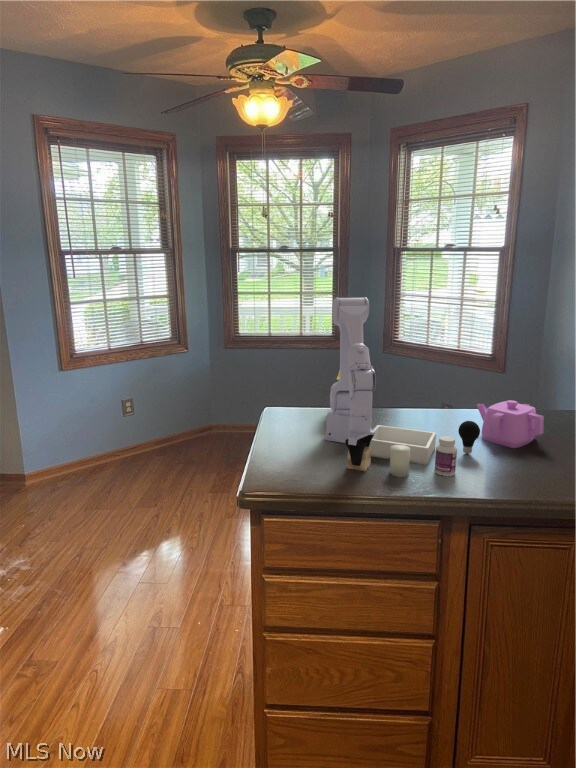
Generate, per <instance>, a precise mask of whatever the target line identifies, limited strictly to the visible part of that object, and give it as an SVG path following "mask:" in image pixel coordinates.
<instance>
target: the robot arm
mask: <svg viewBox="0 0 576 768" xmlns="http://www.w3.org/2000/svg"><path fill="white" fill-rule="evenodd" d="M369 315H370V300H369V299H368V297H366V296H364V297H335V298H334V299H333V301H332V321H333V325H335V326H338V328H339V333H340V334H339V337H340V338H339V343H340V344H339V370H340V380H339V381H337V382H336V381H335V382H334V383H333V384H332V385H331V387H330V394H329V405H330V406H329V408H330V409H329V410H328V411H327V415H326V421H325V425H326V427H325V439H324V440H325V441H330V442H334V443H335V442H336V443H342V444H345V446H346V448H347V450H349V453H350V457H351V462H352V465H355V466H360V464H361V461H362V455H363V451H364V448H365V447H369V445H370V442H371V440H372V438H373V436H374V434H375V430H374V429H372V417H373V416H372V415H373V409H372V408H373V392H374V391H375V390H376V387H377V386H376V384H377V378H376V377H377V376H376V371H375V369H374V366H373V365H372V364H371V357H370V348H369V347H368V346H366V345H365V343H364V323H365V322H367V320H368V318H369ZM365 324H366V323H365ZM341 390H349V391H341Z"/></svg>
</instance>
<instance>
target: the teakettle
mask: <svg viewBox="0 0 576 768" xmlns="http://www.w3.org/2000/svg"><path fill="white" fill-rule="evenodd" d="M476 407H477V410H478V412H479V414H480V417H481V420H482V421H483V423H482V426H481V427H482V428H481V437H482V440H483V441H486V442H490V443H493V444H496V445H499V446H503V447H507V448H511V449H519V448H522V447H524V446H526V445H528V444H530V443H531V442H533V441H534V439H536V438H535V437H537V436H541V435H542V434H544V419H545V417H544V415H541V414H537V412H536V408H535V406H531V404H527V403H519V402H518V401H516V400H511V399H509V400H505V401H500V402H497V403H495V404H492V405H490V406H489V407H486V406H485V404H484V403H478V404H476Z"/></svg>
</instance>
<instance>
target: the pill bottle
mask: <svg viewBox="0 0 576 768" xmlns="http://www.w3.org/2000/svg"><path fill="white" fill-rule="evenodd" d="M438 443H439V444H437V445H436V446H435V461H434V470H433V471H434V473H435V474H436V473H437V475H438V474H439V475H438V476H441V475H443V476H442V477H452V476H454V475H455V474H456V467H457V457H458V456H457V454H458V448H457V446H455V445H456V439H455V438H454V437H453V436H448V435H447V436H446V435H445V436H443V435H442V436H440V437H439V440H438Z"/></svg>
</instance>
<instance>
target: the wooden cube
mask: <svg viewBox="0 0 576 768" xmlns="http://www.w3.org/2000/svg"><path fill="white" fill-rule="evenodd" d="M347 450H348V449H347ZM371 461H372V457H371V447H365V448H364V451H363V455H362V461H361V464H360V466H355V465H352V462H351V457H350V453H349V450H348V451H347V469H350V470H355V469H356V471H361V472H363V471H364V472H366V471H367V470H368V469H367V468H370V467H371V463H372V462H371Z"/></svg>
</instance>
